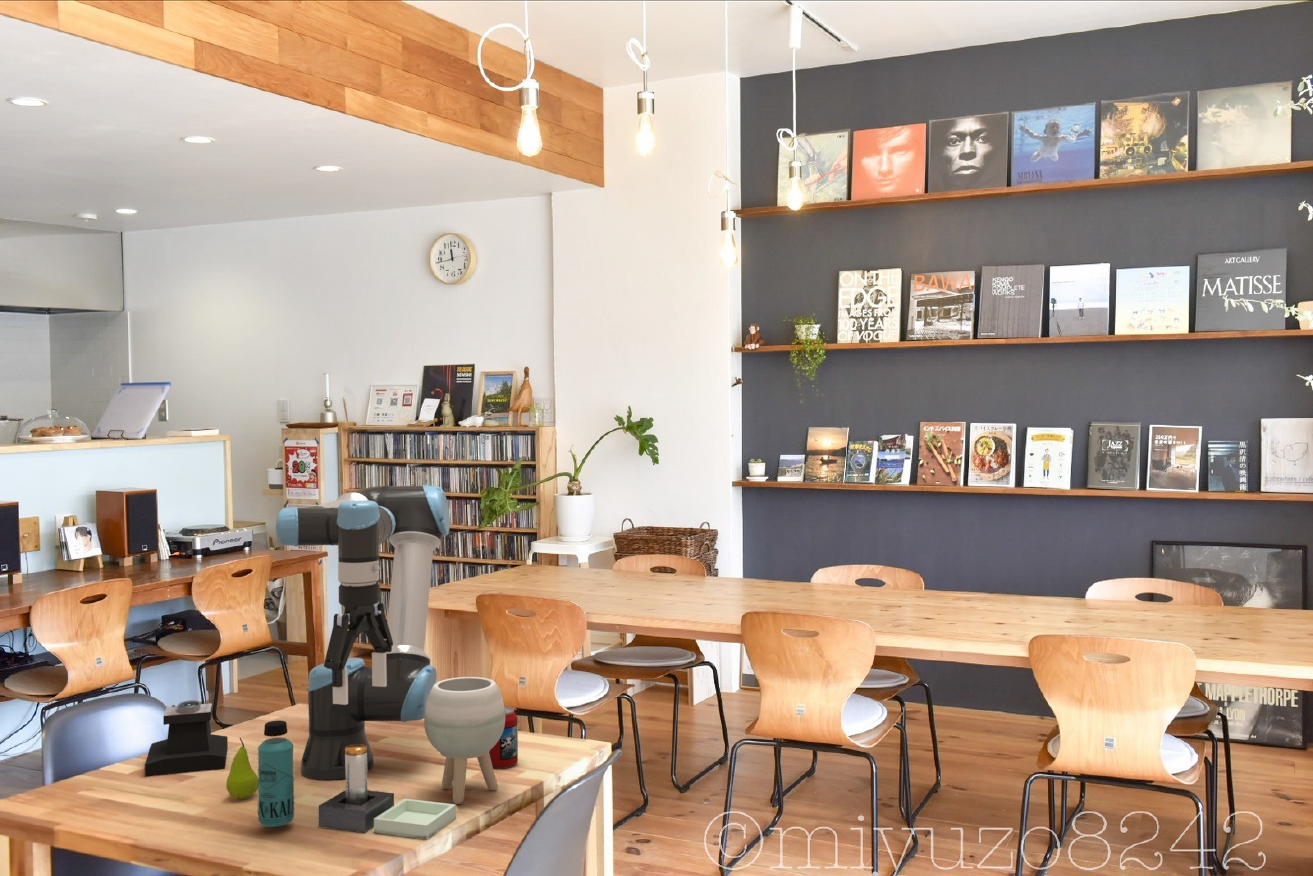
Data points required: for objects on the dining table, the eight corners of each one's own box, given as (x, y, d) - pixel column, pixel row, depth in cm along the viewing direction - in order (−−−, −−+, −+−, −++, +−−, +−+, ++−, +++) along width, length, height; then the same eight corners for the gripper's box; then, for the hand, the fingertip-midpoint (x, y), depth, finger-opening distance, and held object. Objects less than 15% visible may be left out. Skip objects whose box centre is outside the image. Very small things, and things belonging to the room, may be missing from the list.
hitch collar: (318, 827, 208) (318, 805, 208) (349, 808, 218) (348, 788, 217) (365, 833, 205) (365, 811, 205) (394, 814, 215) (393, 793, 214)
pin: (341, 823, 210) (340, 749, 210) (353, 815, 214) (352, 743, 213) (360, 825, 209) (359, 751, 208) (372, 817, 213) (371, 745, 212)
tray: (374, 832, 205) (373, 818, 205) (405, 812, 216) (404, 798, 215) (427, 839, 202) (426, 825, 202) (456, 818, 212) (456, 804, 212)
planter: (519, 785, 230) (518, 677, 230) (482, 812, 215) (481, 697, 215) (450, 777, 236) (449, 672, 235) (409, 803, 220) (408, 690, 220)
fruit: (245, 804, 220) (244, 744, 220) (219, 801, 222) (218, 742, 222) (265, 794, 226) (264, 735, 226) (239, 791, 228) (238, 732, 228)
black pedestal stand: (143, 717, 236) (151, 693, 250) (145, 782, 237) (153, 754, 251) (223, 710, 241) (227, 687, 255) (225, 774, 242) (228, 747, 256)
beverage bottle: (263, 822, 210) (261, 717, 210) (299, 821, 211) (297, 716, 210) (253, 836, 204) (251, 727, 203) (290, 834, 204) (289, 726, 204)
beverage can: (512, 770, 240) (511, 715, 239) (482, 768, 241) (481, 713, 241) (522, 760, 246) (521, 706, 246) (493, 759, 248) (492, 705, 247)
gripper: (339, 594, 198) (341, 713, 198) (409, 574, 221) (411, 680, 222) (302, 592, 200) (304, 710, 200) (376, 572, 224) (377, 678, 224)
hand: (360, 694), depth 211 cm, fingers open, 13 cm apart
